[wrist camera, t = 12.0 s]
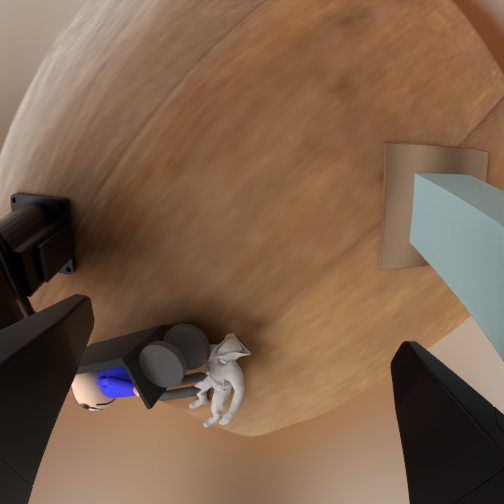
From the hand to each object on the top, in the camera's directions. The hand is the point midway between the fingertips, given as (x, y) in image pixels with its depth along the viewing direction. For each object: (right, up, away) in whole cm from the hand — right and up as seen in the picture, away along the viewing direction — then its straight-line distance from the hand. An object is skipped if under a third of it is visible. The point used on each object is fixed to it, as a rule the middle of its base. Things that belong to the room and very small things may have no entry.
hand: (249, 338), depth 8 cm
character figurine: (-10, -6, +18) cm, 22 cm away
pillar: (+14, +5, +11) cm, 18 cm away
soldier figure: (-3, -8, +19) cm, 21 cm away
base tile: (+14, +6, +12) cm, 19 cm away
